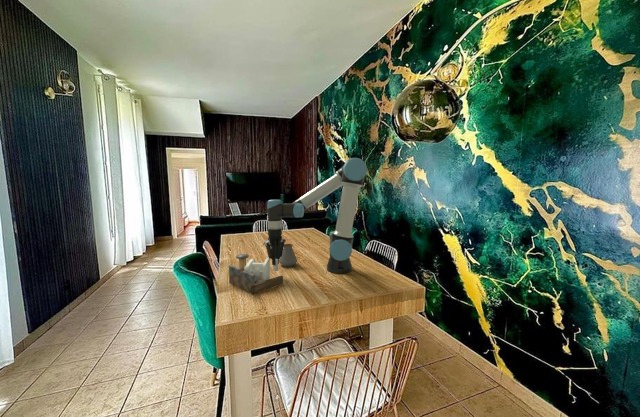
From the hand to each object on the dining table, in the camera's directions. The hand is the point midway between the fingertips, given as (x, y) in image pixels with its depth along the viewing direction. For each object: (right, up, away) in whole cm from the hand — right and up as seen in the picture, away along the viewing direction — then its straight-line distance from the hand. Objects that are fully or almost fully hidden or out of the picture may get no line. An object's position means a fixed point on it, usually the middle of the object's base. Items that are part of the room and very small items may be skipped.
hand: (275, 270), depth 144 cm
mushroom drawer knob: (-20, -3, +8) cm, 22 cm away
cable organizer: (-8, -5, -9) cm, 13 cm away
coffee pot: (-1, -2, +22) cm, 22 cm away
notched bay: (-9, -4, -9) cm, 13 cm away
